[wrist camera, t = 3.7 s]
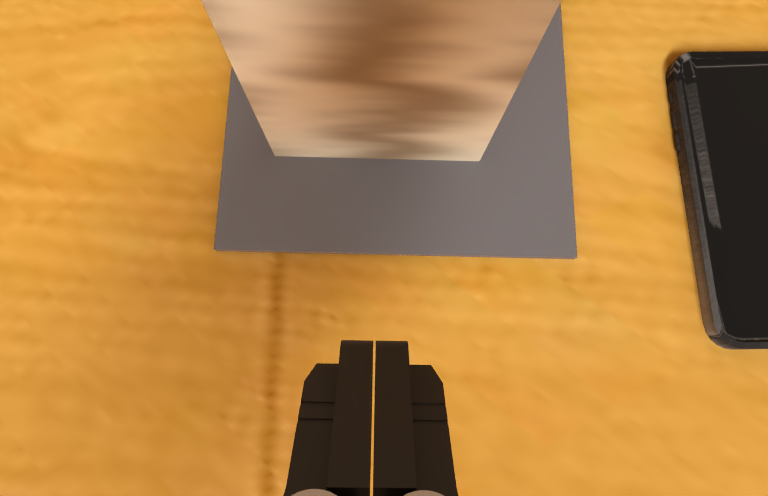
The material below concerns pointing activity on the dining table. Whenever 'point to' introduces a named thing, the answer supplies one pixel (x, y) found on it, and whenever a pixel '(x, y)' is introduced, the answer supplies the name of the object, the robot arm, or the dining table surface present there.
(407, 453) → the robot arm
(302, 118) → the placard
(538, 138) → the mat
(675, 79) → the phone
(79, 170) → the dining table surface
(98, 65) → the dining table surface
